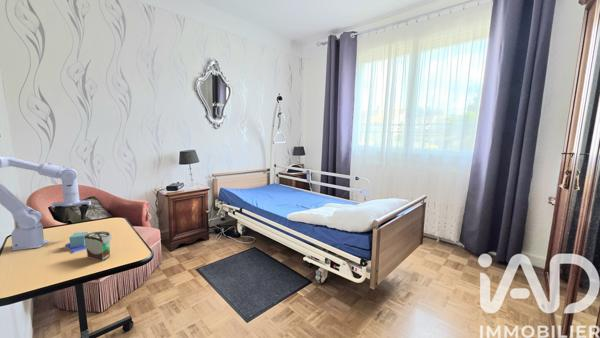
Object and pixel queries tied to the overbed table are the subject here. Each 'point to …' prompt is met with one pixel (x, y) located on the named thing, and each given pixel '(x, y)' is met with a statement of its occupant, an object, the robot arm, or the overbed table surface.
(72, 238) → the cube
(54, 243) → the overbed table surface
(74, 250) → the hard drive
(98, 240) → the food container
